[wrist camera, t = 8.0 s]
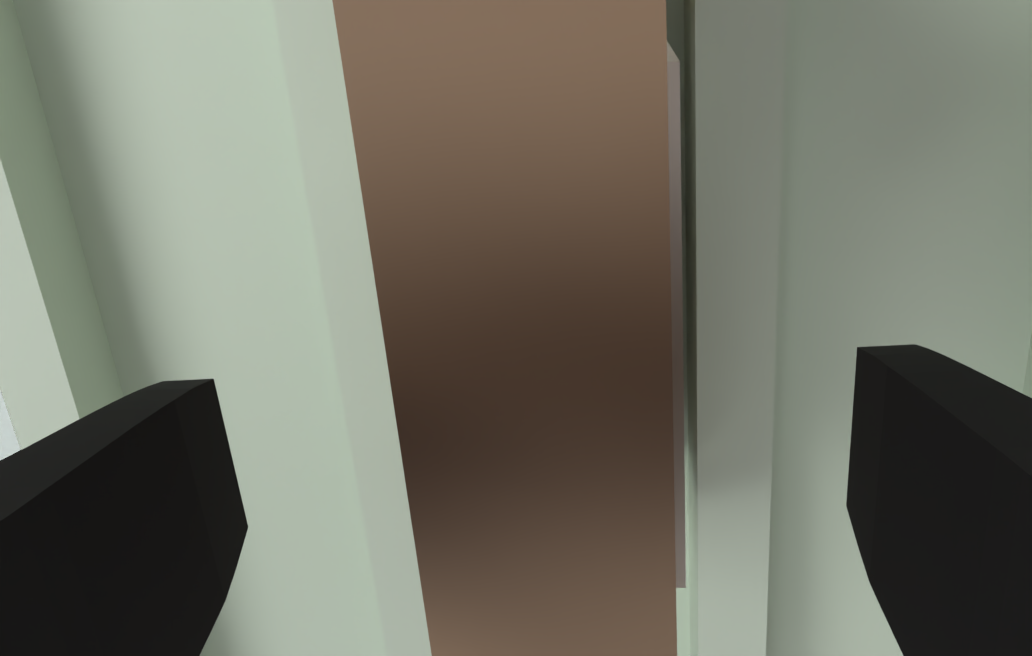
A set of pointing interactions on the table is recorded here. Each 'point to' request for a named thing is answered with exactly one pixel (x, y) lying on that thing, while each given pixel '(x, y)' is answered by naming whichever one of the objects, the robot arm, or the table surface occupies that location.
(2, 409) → the table surface
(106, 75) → the green slotted rack
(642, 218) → the frame
